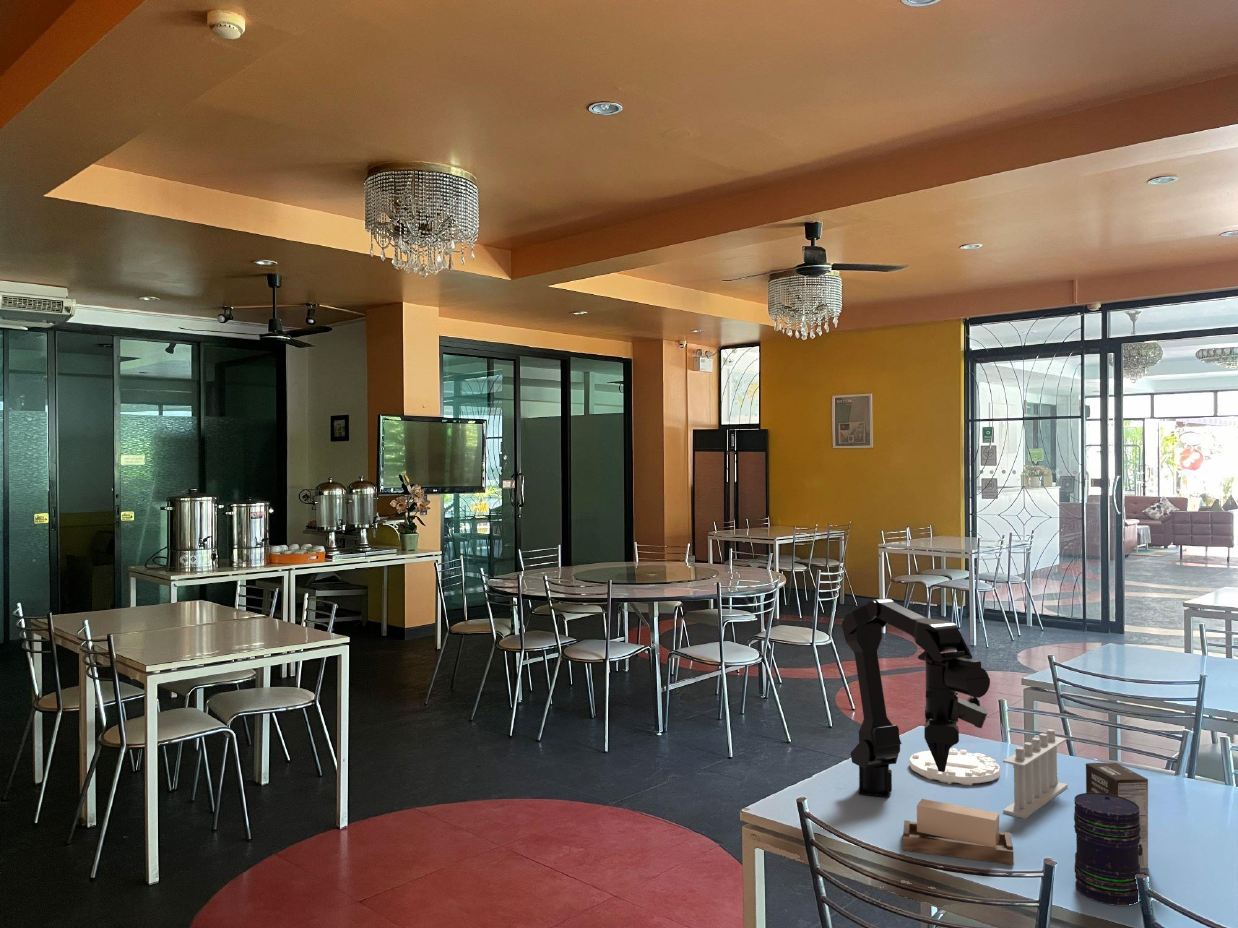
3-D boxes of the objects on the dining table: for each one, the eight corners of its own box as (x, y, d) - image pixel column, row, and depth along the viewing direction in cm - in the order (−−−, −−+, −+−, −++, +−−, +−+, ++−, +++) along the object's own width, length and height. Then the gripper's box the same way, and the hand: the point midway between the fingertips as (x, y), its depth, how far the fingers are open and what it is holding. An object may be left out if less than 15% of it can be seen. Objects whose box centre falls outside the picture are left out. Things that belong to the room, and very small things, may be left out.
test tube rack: (1024, 819, 181) (1024, 754, 181) (1002, 813, 184) (1002, 749, 184) (1067, 787, 198) (1067, 728, 198) (1047, 782, 201) (1046, 724, 202)
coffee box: (1084, 848, 166) (1083, 762, 166) (1117, 846, 167) (1116, 761, 167) (1116, 870, 157) (1115, 779, 157) (1150, 868, 158) (1149, 777, 158)
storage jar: (1140, 911, 142) (1139, 818, 143) (1072, 896, 148) (1070, 806, 148) (1142, 886, 151) (1141, 799, 151) (1077, 873, 156) (1076, 788, 156)
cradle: (903, 849, 166) (903, 834, 166) (904, 832, 174) (904, 818, 174) (1013, 864, 160) (1013, 848, 160) (1009, 845, 168) (1009, 830, 168)
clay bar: (917, 831, 169) (916, 805, 169) (922, 824, 172) (921, 798, 172) (995, 847, 161) (995, 820, 162) (999, 839, 165) (999, 812, 165)
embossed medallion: (935, 753, 224) (935, 742, 224) (1014, 772, 209) (1014, 759, 209) (894, 772, 210) (894, 759, 210) (975, 793, 196) (975, 779, 196)
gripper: (987, 700, 166) (987, 784, 165) (981, 678, 183) (982, 753, 183) (924, 695, 169) (924, 777, 169) (924, 674, 187) (925, 748, 187)
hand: (941, 764), depth 177 cm, fingers open, 9 cm apart
